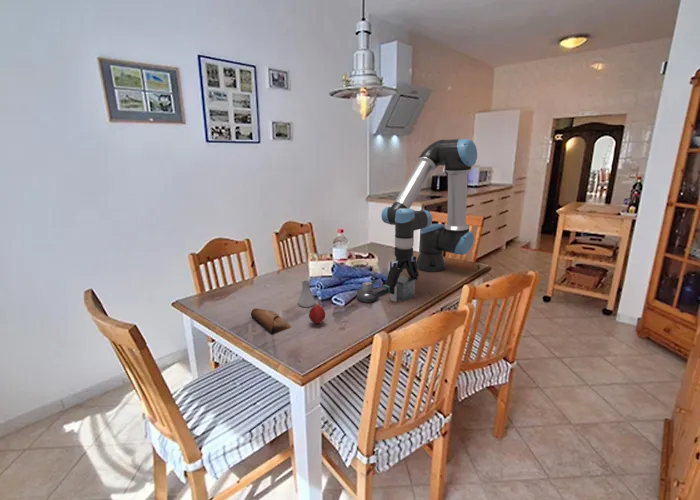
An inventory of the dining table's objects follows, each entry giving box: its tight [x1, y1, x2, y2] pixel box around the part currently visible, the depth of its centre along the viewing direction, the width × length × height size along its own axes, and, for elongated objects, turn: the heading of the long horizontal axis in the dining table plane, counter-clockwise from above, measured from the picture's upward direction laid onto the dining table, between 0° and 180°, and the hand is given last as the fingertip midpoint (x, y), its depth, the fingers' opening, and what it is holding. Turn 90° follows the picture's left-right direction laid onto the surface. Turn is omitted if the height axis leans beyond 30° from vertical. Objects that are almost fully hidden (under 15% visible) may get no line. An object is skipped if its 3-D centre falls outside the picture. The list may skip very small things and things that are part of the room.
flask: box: [297, 279, 317, 308], centre depth 146 cm, size 7×7×10 cm
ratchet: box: [356, 281, 390, 304], centre depth 155 cm, size 24×9×7 cm, turn 131°
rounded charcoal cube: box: [395, 275, 415, 303], centre depth 151 cm, size 7×7×8 cm
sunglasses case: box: [250, 308, 292, 335], centre depth 132 cm, size 18×7×7 cm
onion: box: [308, 303, 326, 325], centre depth 129 cm, size 6×6×8 cm
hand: (402, 296), depth 152 cm, fingers open, 11 cm apart
